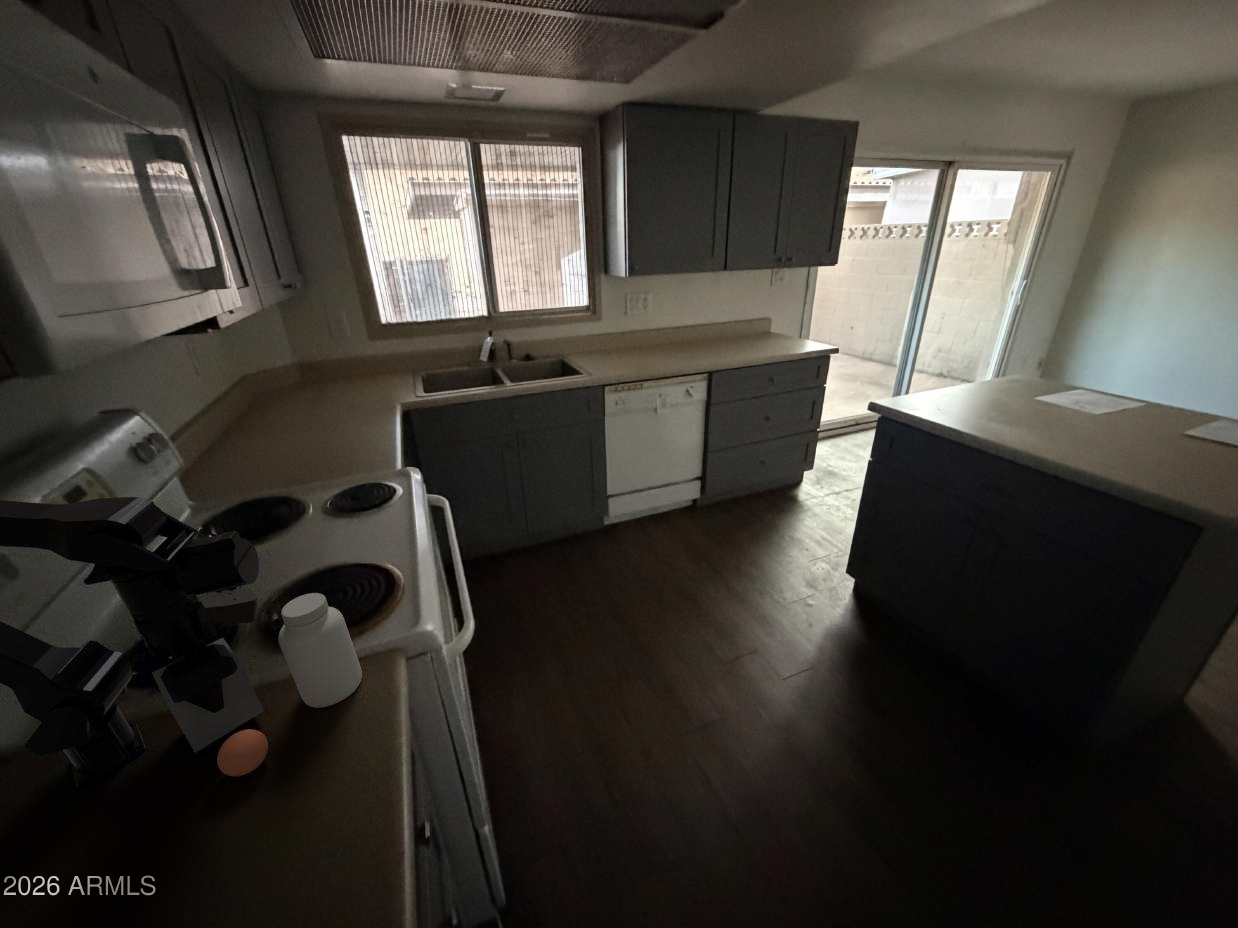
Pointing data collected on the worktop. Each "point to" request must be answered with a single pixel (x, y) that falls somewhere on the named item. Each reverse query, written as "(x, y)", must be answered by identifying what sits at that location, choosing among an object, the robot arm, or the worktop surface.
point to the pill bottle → (319, 651)
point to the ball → (242, 752)
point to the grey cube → (211, 726)
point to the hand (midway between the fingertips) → (210, 694)
